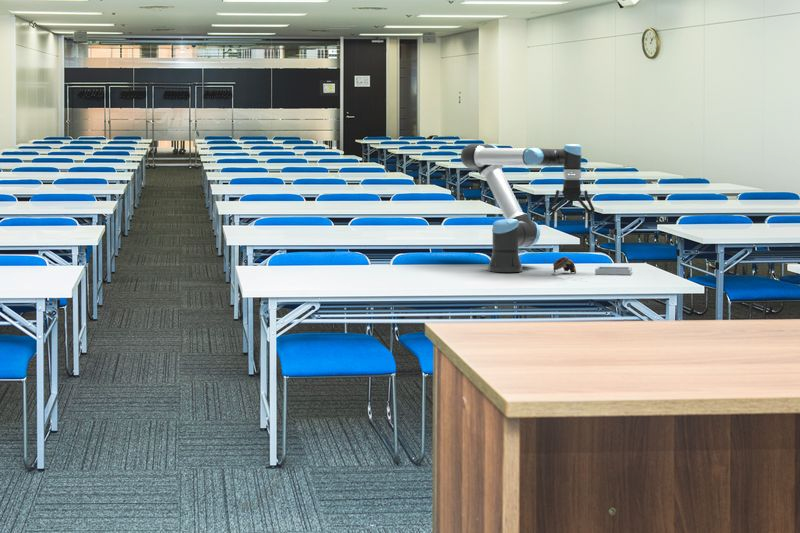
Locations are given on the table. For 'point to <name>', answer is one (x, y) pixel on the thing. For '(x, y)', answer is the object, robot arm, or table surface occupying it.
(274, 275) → the table surface
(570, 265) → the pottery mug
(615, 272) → the tray
